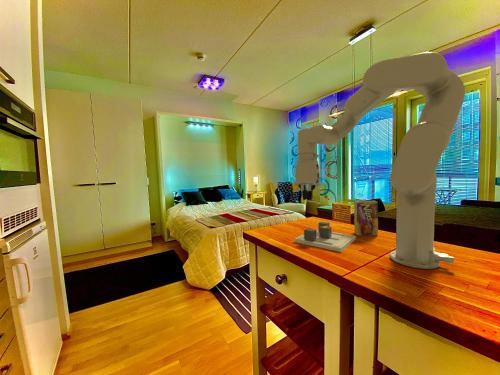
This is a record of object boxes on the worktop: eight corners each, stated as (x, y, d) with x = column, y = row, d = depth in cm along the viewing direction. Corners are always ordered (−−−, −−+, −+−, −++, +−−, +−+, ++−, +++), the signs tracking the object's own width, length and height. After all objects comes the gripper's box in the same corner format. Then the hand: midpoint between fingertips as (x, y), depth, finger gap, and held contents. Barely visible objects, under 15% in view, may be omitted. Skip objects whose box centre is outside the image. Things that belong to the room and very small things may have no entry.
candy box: (374, 233, 99) (374, 200, 98) (378, 235, 95) (378, 201, 94) (353, 232, 101) (354, 200, 100) (356, 235, 97) (356, 201, 96)
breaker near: (316, 239, 88) (316, 229, 87) (313, 241, 86) (313, 231, 85) (307, 237, 90) (307, 228, 90) (304, 239, 88) (303, 229, 88)
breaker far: (329, 231, 98) (329, 222, 98) (327, 232, 96) (327, 224, 96) (321, 229, 101) (321, 221, 101) (318, 231, 99) (318, 222, 98)
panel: (355, 239, 91) (355, 235, 91) (341, 252, 78) (341, 247, 78) (313, 232, 104) (313, 228, 104) (294, 242, 91) (294, 238, 90)
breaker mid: (331, 236, 91) (331, 226, 90) (328, 238, 88) (328, 228, 88) (322, 234, 93) (322, 225, 93) (319, 236, 91) (319, 226, 91)
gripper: (327, 156, 91) (328, 199, 93) (295, 159, 102) (296, 197, 103) (320, 156, 86) (321, 202, 87) (286, 158, 96) (287, 199, 97)
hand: (307, 199), depth 95 cm, fingers closed
